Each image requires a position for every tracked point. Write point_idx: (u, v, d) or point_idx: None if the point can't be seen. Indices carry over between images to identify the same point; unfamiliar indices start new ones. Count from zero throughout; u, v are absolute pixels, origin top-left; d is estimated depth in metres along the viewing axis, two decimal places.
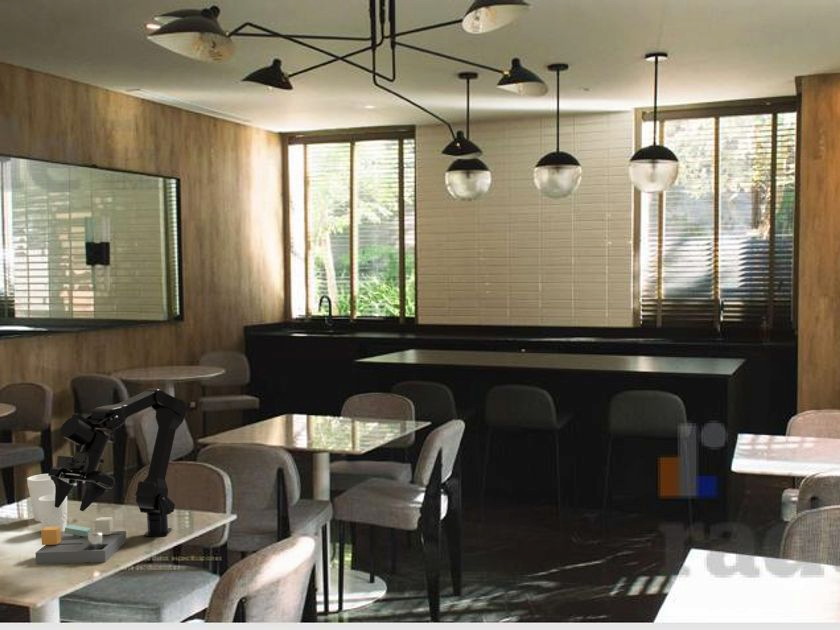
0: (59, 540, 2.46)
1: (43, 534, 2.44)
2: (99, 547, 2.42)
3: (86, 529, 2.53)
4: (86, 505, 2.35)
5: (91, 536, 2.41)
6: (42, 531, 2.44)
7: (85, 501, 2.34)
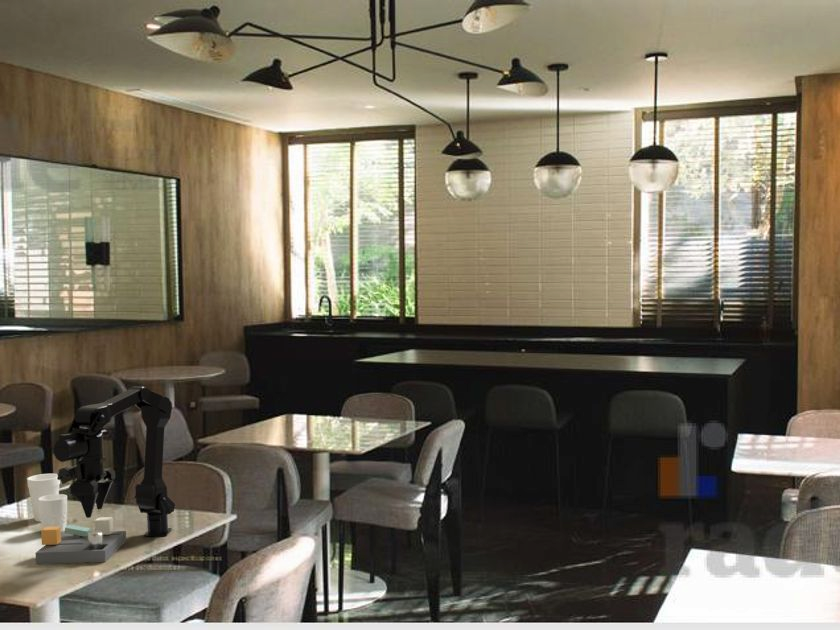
0: (59, 540, 2.46)
1: (43, 534, 2.44)
2: (99, 547, 2.42)
3: (86, 529, 2.53)
4: (88, 512, 2.37)
5: (91, 536, 2.41)
6: (42, 531, 2.44)
7: (84, 509, 2.37)
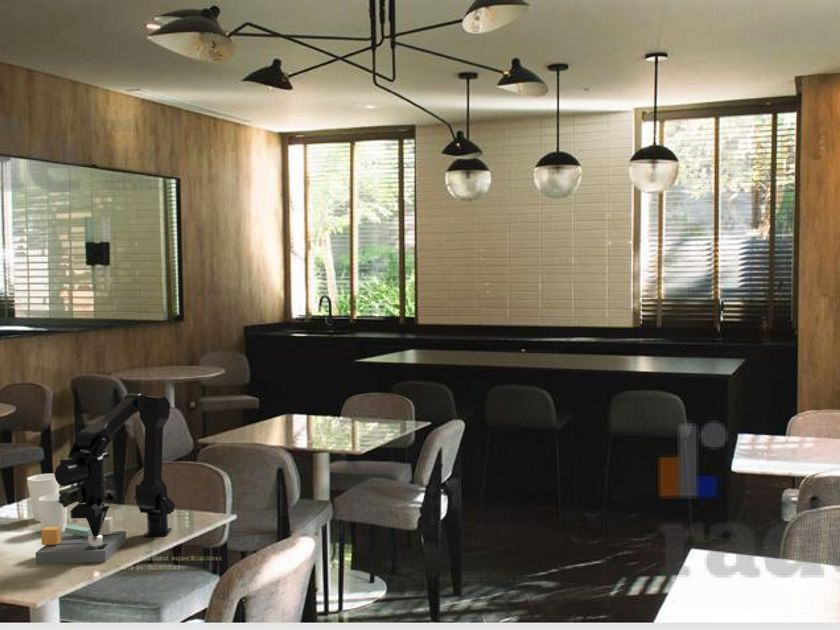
0: (59, 540, 2.46)
1: (43, 534, 2.44)
2: None
3: (86, 529, 2.53)
4: (95, 530, 2.42)
5: (91, 539, 2.41)
6: (42, 531, 2.44)
7: (91, 528, 2.42)
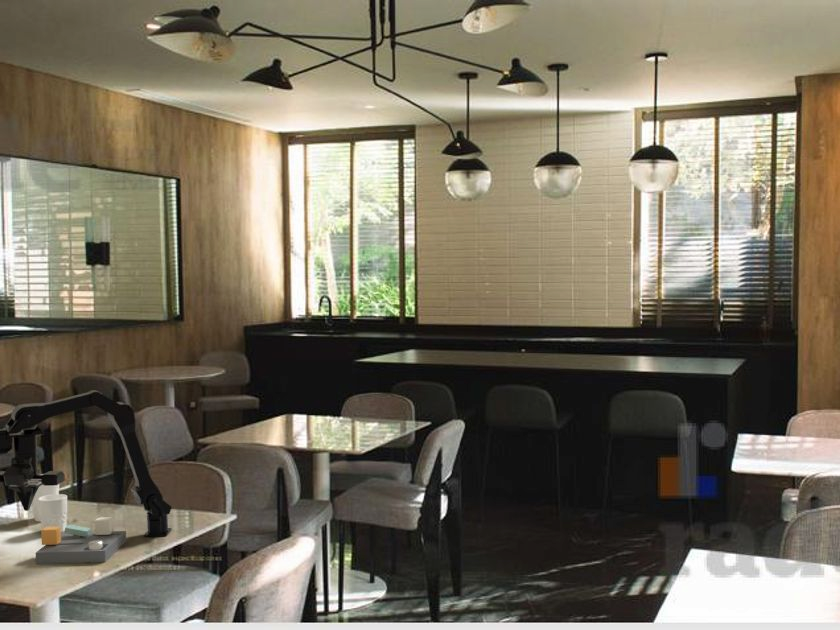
0: (59, 540, 2.46)
1: (43, 534, 2.44)
2: None
3: (86, 529, 2.53)
4: (30, 504, 2.45)
5: (91, 545, 2.41)
6: (42, 531, 2.44)
7: (29, 502, 2.44)
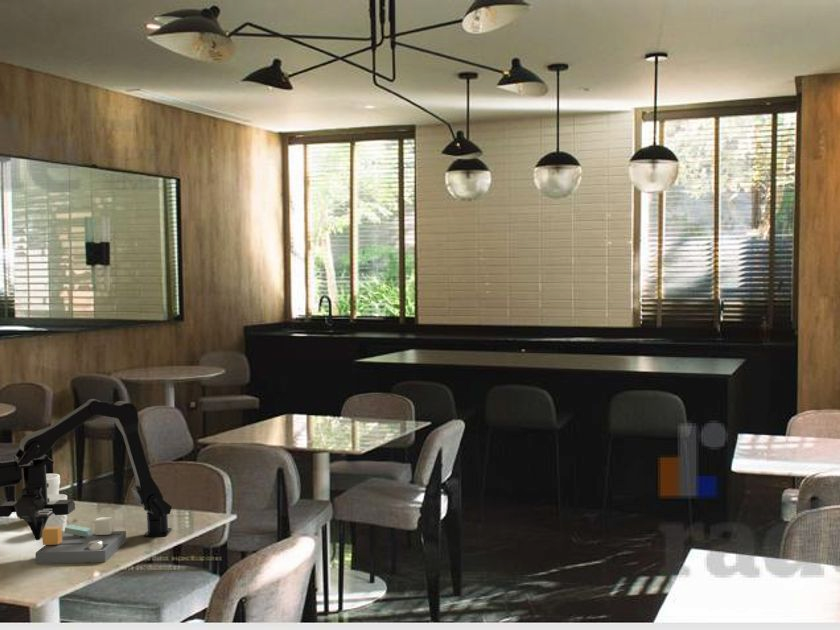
0: (60, 540, 2.46)
1: (44, 534, 2.44)
2: None
3: (86, 529, 2.53)
4: (41, 533, 2.46)
5: (91, 545, 2.41)
6: (43, 531, 2.44)
7: (40, 531, 2.45)
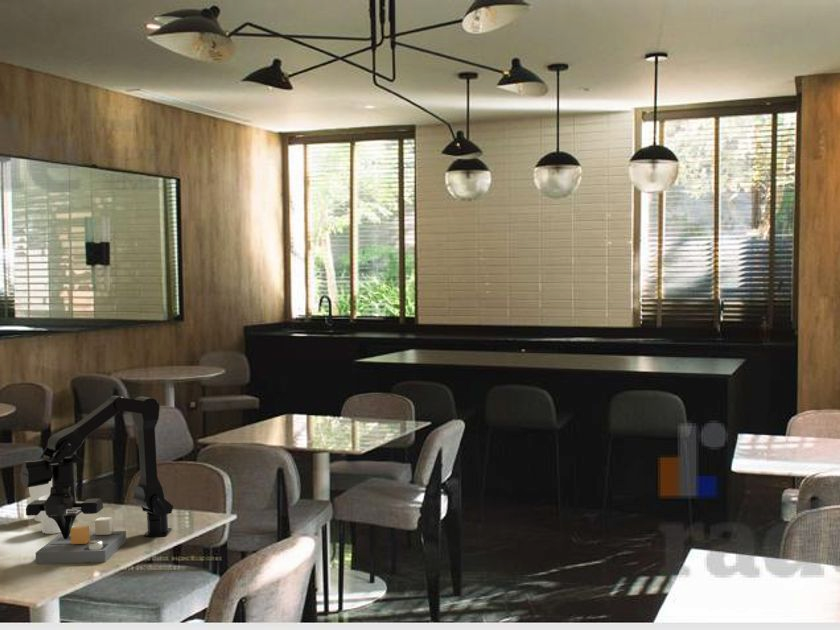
0: (88, 539, 2.47)
1: (72, 533, 2.45)
2: None
3: None
4: (69, 532, 2.46)
5: (91, 545, 2.41)
6: (71, 530, 2.45)
7: (68, 530, 2.45)
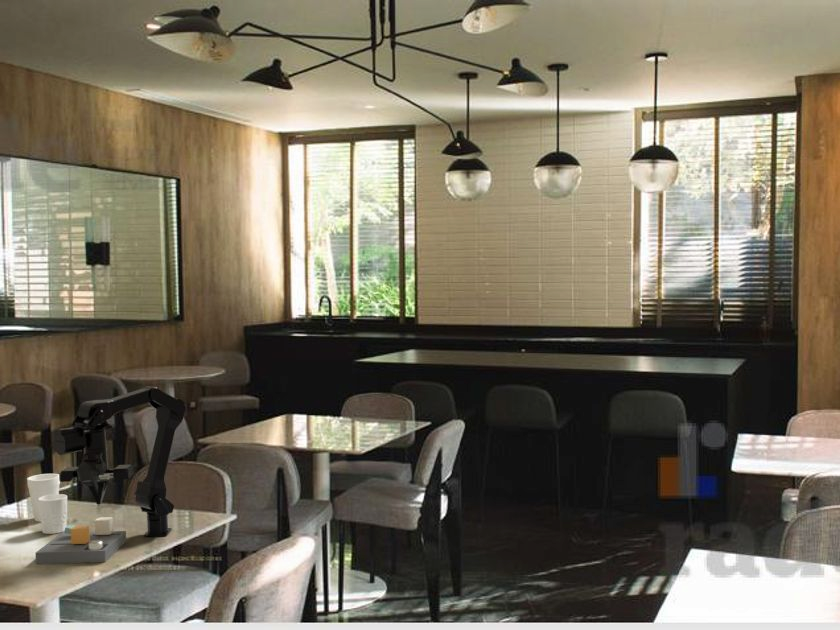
0: (88, 539, 2.47)
1: (72, 533, 2.45)
2: None
3: None
4: (102, 497, 2.50)
5: (91, 545, 2.41)
6: (71, 530, 2.45)
7: (101, 496, 2.49)
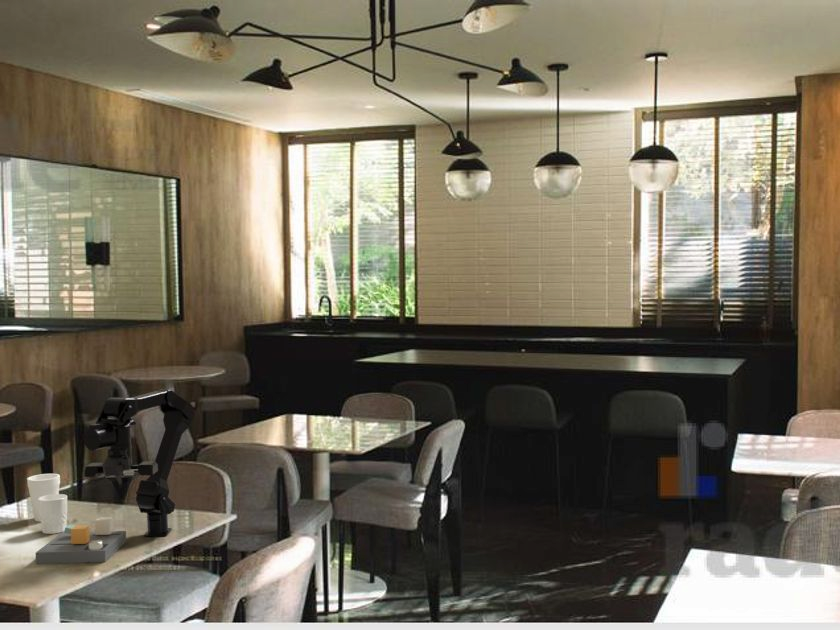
0: (88, 539, 2.47)
1: (72, 533, 2.45)
2: None
3: None
4: (125, 494, 2.52)
5: (91, 545, 2.41)
6: (71, 530, 2.45)
7: (125, 492, 2.51)
